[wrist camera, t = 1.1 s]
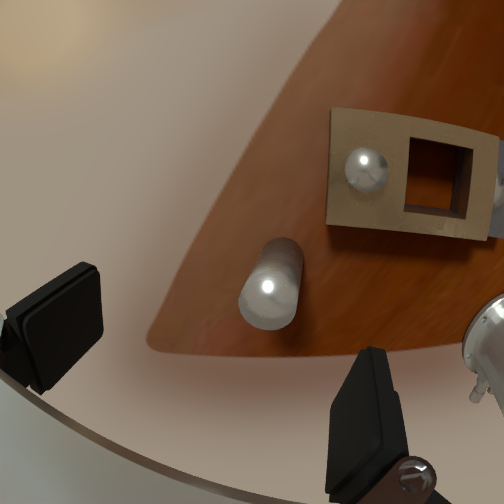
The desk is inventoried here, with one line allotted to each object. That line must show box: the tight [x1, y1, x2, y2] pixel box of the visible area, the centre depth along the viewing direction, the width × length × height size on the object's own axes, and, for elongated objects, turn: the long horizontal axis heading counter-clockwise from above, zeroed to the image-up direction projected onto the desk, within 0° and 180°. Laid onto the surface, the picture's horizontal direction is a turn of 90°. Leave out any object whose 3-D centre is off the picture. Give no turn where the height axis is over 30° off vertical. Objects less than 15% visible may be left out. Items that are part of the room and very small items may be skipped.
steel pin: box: [239, 238, 304, 330], centre depth 28 cm, size 4×4×10 cm
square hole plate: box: [325, 107, 504, 241], centre depth 24 cm, size 20×10×5 cm, turn 89°
